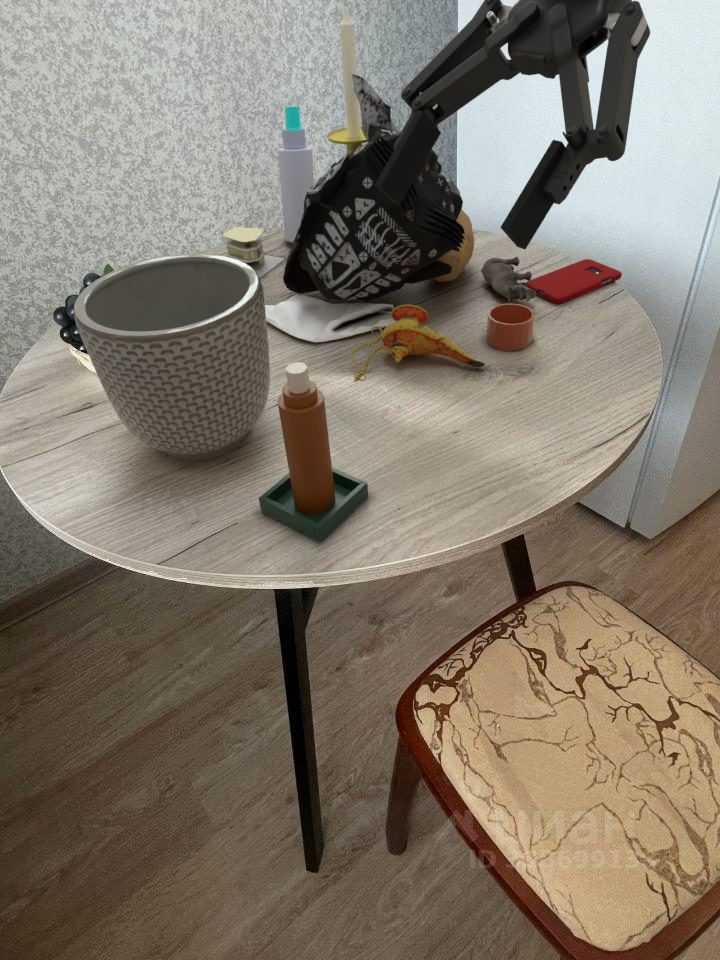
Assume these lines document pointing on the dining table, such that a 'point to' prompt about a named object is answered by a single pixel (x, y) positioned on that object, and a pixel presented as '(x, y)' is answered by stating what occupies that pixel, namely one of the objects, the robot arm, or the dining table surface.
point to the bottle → (306, 441)
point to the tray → (314, 525)
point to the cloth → (326, 318)
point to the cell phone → (573, 280)
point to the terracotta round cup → (510, 326)
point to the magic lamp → (413, 339)
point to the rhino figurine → (507, 279)
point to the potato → (460, 258)
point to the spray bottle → (294, 172)
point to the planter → (180, 350)
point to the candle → (349, 90)
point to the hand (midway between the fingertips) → (444, 215)
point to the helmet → (373, 220)
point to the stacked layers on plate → (250, 249)
